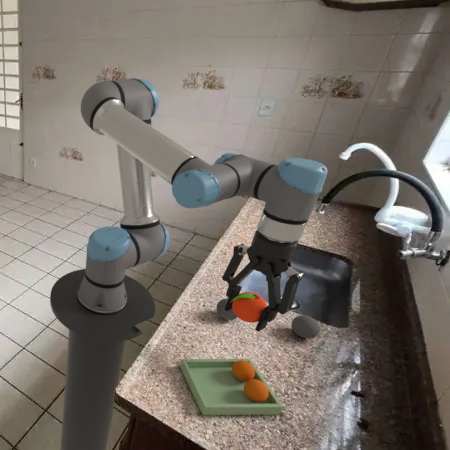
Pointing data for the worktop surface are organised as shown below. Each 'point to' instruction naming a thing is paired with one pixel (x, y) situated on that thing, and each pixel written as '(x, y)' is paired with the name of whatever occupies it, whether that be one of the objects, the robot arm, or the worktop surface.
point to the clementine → (248, 306)
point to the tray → (225, 389)
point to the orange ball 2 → (256, 390)
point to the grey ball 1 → (223, 313)
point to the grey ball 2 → (305, 326)
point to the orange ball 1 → (243, 370)
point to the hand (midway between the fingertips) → (244, 318)
